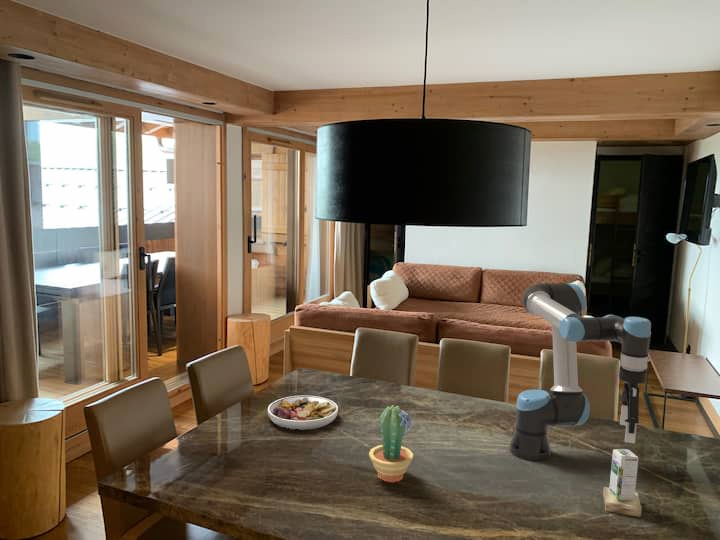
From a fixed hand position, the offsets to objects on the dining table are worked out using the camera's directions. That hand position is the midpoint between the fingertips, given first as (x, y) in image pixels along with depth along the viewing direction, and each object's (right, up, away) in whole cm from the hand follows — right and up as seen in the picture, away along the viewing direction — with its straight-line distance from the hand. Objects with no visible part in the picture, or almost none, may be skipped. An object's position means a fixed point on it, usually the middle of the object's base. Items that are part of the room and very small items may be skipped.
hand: (627, 433), depth 180 cm
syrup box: (0, -21, +3) cm, 21 cm away
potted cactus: (-73, -20, +19) cm, 78 cm away
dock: (-1, -24, +3) cm, 24 cm away
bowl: (-108, -13, +68) cm, 129 cm away
